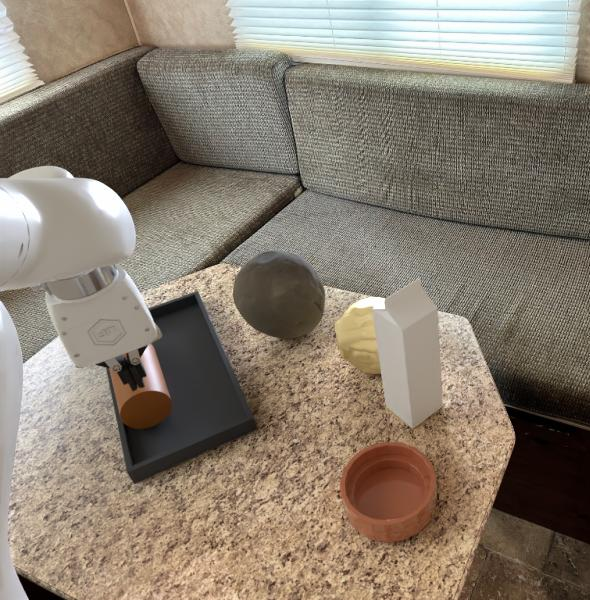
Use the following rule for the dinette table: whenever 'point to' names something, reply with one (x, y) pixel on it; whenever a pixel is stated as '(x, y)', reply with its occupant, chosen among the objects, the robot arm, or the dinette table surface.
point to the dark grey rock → (279, 294)
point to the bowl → (389, 491)
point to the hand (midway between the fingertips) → (137, 382)
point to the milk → (409, 353)
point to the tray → (187, 393)
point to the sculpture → (359, 336)
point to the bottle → (143, 395)
